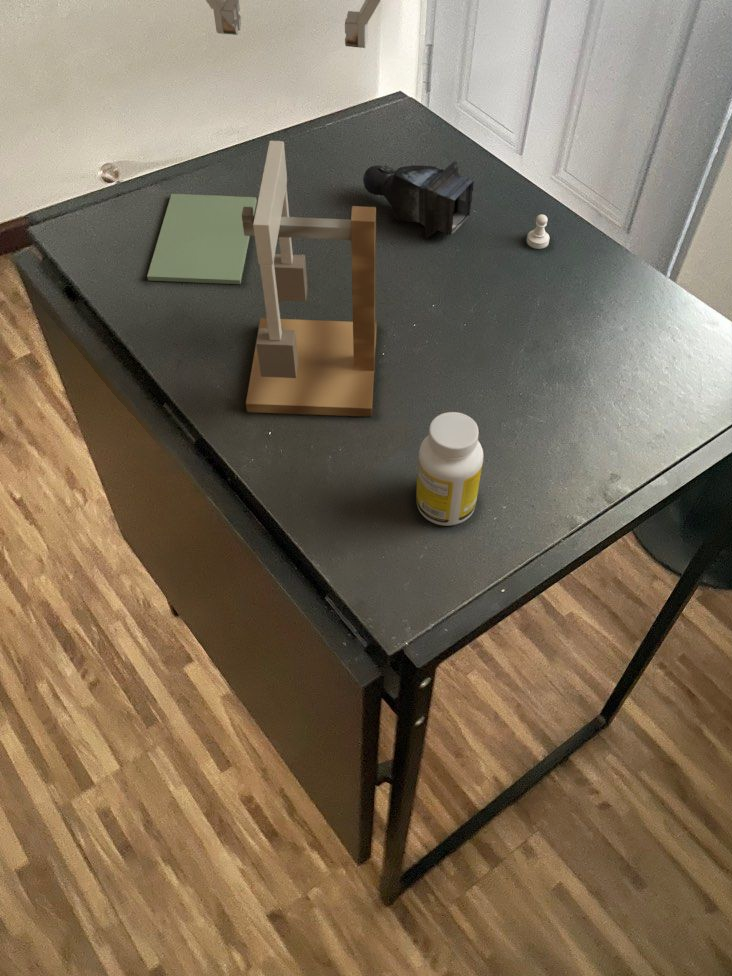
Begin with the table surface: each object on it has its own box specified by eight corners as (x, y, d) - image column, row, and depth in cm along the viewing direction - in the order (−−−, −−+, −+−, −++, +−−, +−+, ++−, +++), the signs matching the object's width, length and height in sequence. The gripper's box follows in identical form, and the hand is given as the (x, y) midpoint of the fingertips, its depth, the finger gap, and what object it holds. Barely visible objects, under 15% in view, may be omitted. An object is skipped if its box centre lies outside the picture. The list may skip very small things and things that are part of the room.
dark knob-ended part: (378, 183, 102) (378, 131, 96) (473, 219, 98) (479, 168, 93) (349, 209, 98) (348, 158, 93) (447, 248, 95) (452, 197, 90)
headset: (261, 377, 76) (238, 228, 63) (275, 287, 83) (258, 136, 70) (296, 378, 76) (281, 229, 63) (307, 288, 83) (296, 138, 70)
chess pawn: (541, 233, 97) (547, 206, 94) (552, 246, 96) (558, 219, 93) (522, 238, 97) (527, 211, 94) (532, 251, 95) (538, 224, 92)
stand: (247, 412, 80) (219, 254, 65) (261, 326, 87) (239, 165, 72) (372, 417, 80) (372, 260, 65) (376, 331, 87) (378, 171, 72)
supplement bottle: (468, 476, 77) (480, 402, 68) (481, 524, 74) (495, 452, 65) (410, 482, 76) (415, 408, 68) (420, 531, 73) (427, 459, 65)
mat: (147, 280, 90) (146, 276, 90) (172, 197, 98) (171, 193, 98) (240, 284, 90) (239, 280, 90) (256, 201, 99) (256, 197, 98)
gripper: (89, -208, 48) (141, 44, 60) (440, -175, 48) (425, 72, 59) (121, -240, 52) (164, 3, 63) (449, -210, 51) (432, 30, 63)
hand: (292, 37), depth 61 cm, fingers open, 8 cm apart
